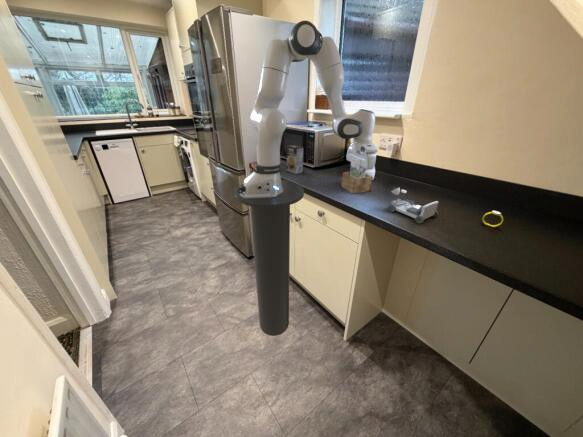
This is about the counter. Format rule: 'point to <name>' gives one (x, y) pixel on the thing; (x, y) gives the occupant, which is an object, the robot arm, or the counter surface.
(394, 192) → the toy car
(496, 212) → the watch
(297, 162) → the coffee box
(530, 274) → the counter surface
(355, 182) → the box
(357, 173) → the syrup box
